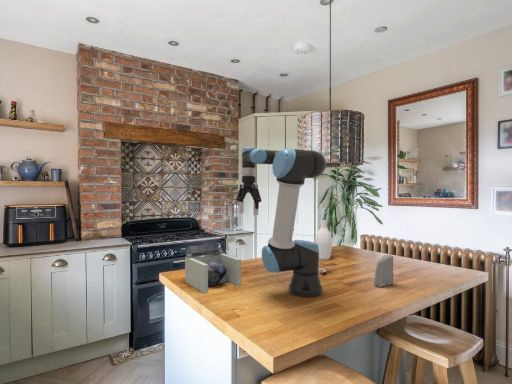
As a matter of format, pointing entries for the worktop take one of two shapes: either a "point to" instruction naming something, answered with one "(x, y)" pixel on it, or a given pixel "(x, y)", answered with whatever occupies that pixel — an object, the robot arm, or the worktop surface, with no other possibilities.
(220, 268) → the rock
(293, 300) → the worktop surface
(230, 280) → the frame
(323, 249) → the bottle
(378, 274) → the decorative stone
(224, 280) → the trapdoor
